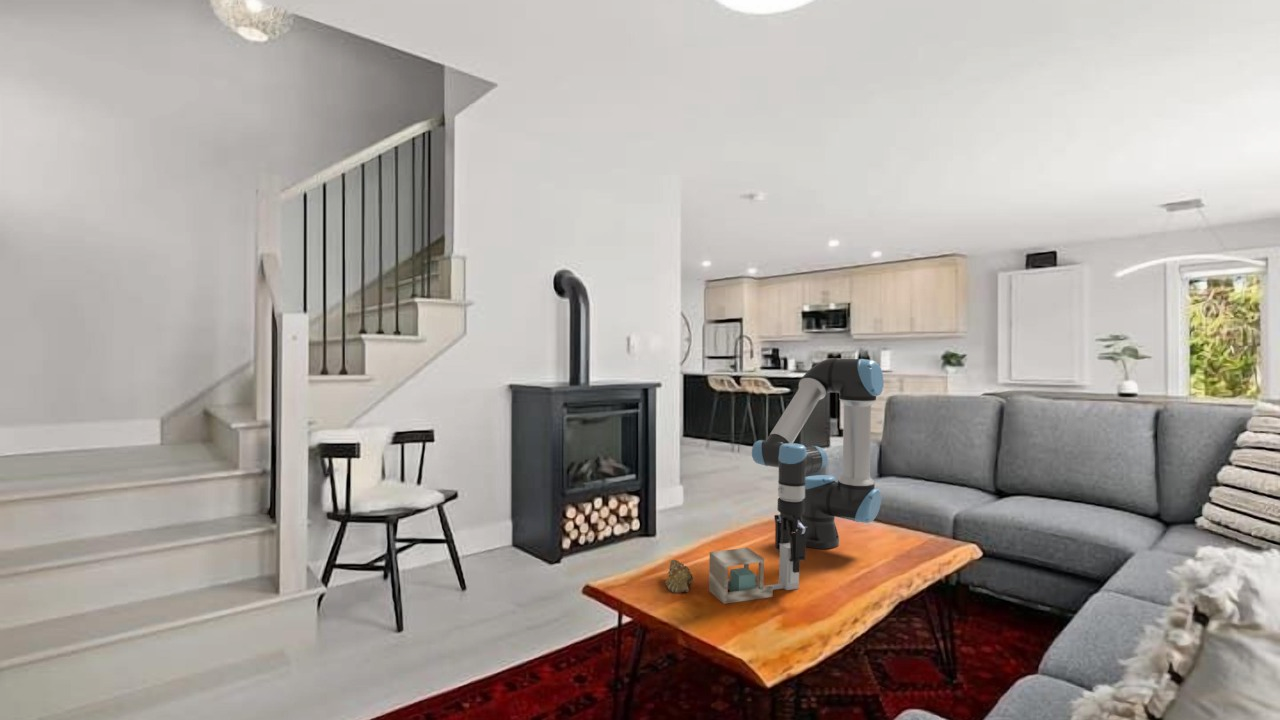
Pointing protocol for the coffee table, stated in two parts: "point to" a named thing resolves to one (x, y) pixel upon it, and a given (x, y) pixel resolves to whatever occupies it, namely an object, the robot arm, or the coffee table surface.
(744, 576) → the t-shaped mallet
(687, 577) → the seashell
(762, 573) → the shelf
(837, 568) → the coffee table surface
